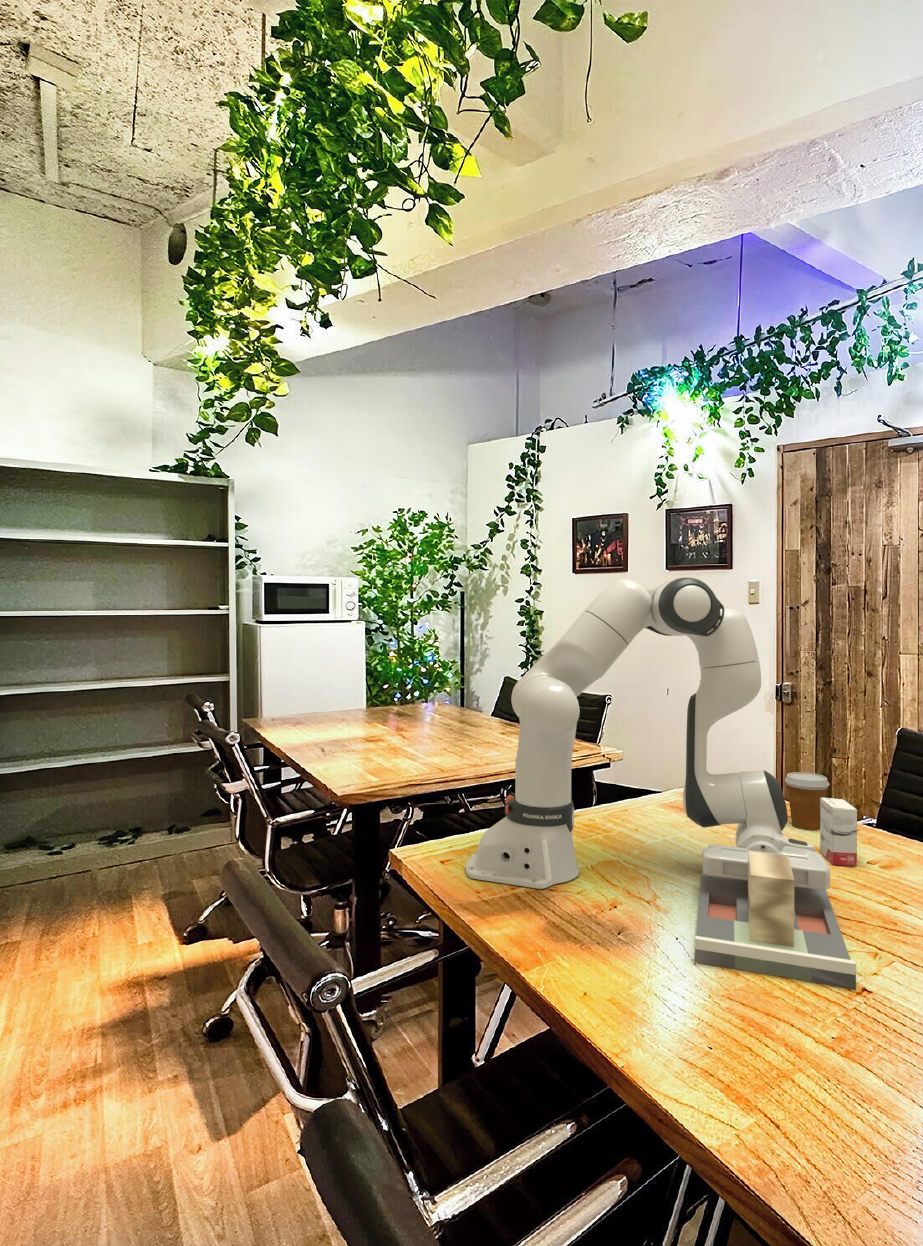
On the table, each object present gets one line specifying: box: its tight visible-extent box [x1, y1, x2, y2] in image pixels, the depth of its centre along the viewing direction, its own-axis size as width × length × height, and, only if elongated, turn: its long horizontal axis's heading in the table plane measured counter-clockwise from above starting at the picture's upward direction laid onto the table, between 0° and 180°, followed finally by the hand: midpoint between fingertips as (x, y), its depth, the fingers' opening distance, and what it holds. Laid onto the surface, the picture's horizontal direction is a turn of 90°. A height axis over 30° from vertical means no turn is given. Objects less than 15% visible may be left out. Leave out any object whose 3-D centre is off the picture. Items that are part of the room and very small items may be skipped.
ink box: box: [819, 797, 858, 867], centre depth 146 cm, size 9×5×12 cm, turn 168°
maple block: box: [748, 851, 794, 947], centre depth 110 cm, size 6×11×10 cm, turn 159°
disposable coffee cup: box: [784, 771, 830, 831], centre depth 167 cm, size 10×10×12 cm
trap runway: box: [694, 864, 857, 990], centre depth 116 cm, size 21×36×4 cm, turn 159°
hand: (766, 883), depth 115 cm, fingers closed, pressing on maple block
